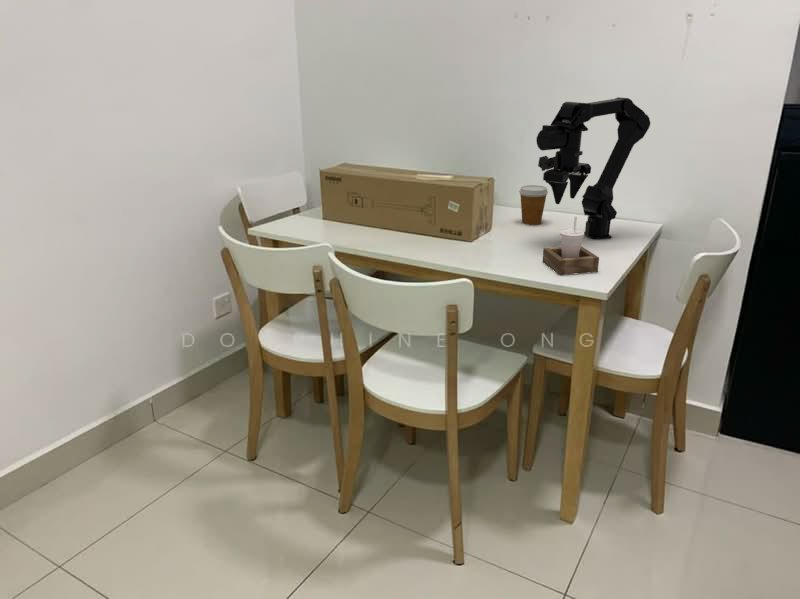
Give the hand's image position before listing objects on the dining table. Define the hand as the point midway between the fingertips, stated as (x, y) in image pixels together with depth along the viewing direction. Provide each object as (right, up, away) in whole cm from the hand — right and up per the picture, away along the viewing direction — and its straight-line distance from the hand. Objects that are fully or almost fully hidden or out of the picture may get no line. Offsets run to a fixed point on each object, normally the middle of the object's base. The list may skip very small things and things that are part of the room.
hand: (564, 201), depth 182 cm
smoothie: (-3, -20, -15) cm, 25 cm away
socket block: (-3, -20, -15) cm, 26 cm away
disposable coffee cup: (-4, -3, +27) cm, 28 cm away
